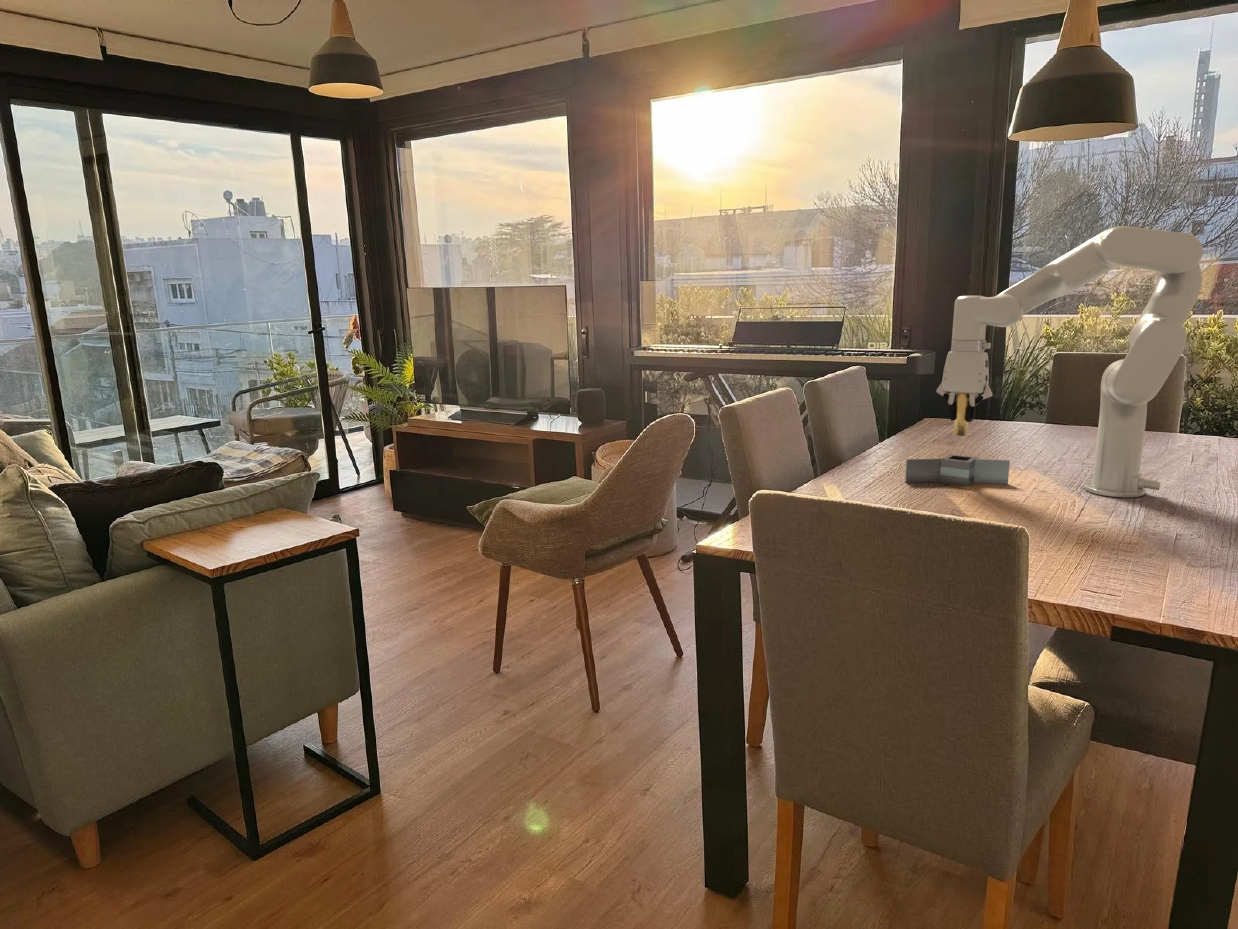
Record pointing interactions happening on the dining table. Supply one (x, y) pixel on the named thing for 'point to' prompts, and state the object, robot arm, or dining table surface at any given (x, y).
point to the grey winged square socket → (957, 470)
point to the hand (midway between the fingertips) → (961, 419)
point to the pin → (961, 414)
